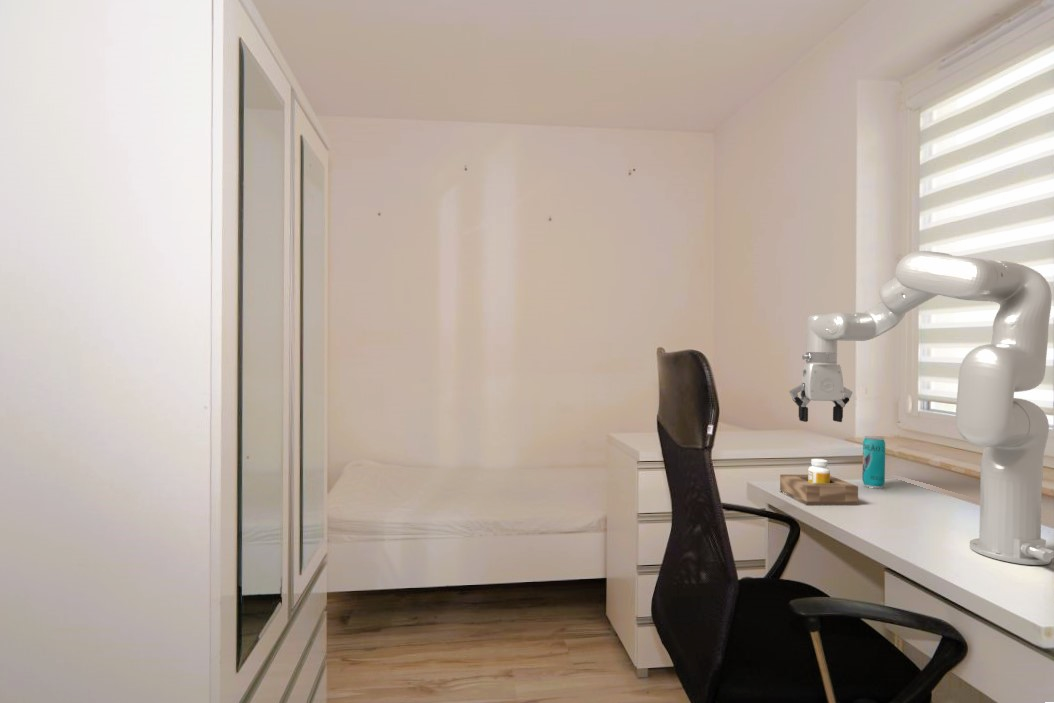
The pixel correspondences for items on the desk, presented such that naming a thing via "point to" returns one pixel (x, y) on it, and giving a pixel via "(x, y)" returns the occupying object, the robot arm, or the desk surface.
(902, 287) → the robot arm
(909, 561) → the desk surface
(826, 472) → the supplement bottle
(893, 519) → the desk surface
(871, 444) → the beverage can
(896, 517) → the desk surface
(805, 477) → the socket block
